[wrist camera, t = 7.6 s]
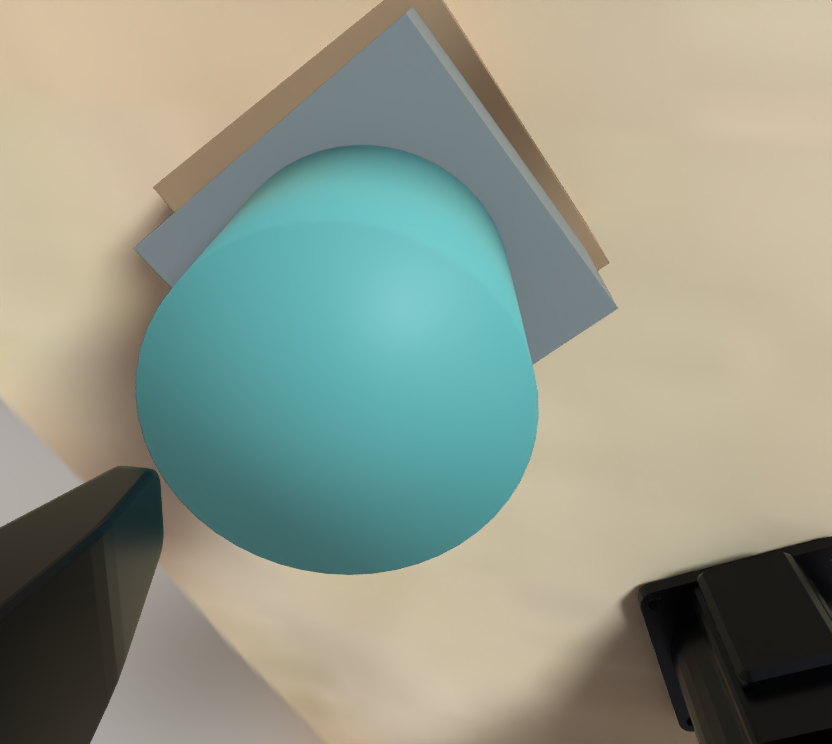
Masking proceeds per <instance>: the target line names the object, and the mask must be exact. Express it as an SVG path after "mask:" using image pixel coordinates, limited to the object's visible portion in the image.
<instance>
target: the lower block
mask: <svg viewBox="0 0 832 744" xmlns="http://www.w3.org/2000/svg"><path fill="white" fill-rule="evenodd" d="M411 7H414V9H415V10H416V11H417V13H418V14H419V16H420V17H421V18H422V20H423V21H424V23H425V24H426V26H427V27H428V28H429V30H430V31H431V33H432V34H433V35H434V37H435V38H436V40H437V41H438V42H439V44H440V45H441V47H442V48H443V49H444V51H445V52H446V54H447V55H448V56H449V58H450V59H451V61H452V62H453V63H454V65H455V66H456V68H457V69H458V70H459V72H460V73H461V75H462V76H463V77H464V79H465V80H466V82H467V83H468V84H469V86H470V87H471V89H472V90H473V91H474V93H475V94H476V96H477V97H478V98H479V100H480V101H481V103H482V104H483V105H484V107H485V108H486V110H487V111H488V112H489V114H490V115H491V117H492V118H493V120H494V121H495V122H496V124H497V125H498V127H499V128H500V129H501V131H502V132H503V134H504V135H505V136H506V138H507V139H508V141H509V142H510V143H511V145H512V146H513V148H514V149H515V150H516V152H517V153H518V155H519V156H520V157H521V159H522V160H523V162H524V163H525V164H526V166H527V167H528V169H529V170H530V171H531V173H532V174H533V176H534V177H535V178H536V180H537V181H538V183H539V184H540V185H541V187H542V188H543V190H544V191H545V192H546V194H547V195H548V197H549V198H550V199H551V201H552V202H553V204H554V205H555V206H556V208H557V209H558V211H559V212H560V214H561V215H562V216H563V218H564V219H565V221H566V222H567V223H568V225H569V226H570V228H571V229H572V230H573V232H574V233H575V235H576V236H577V237H578V239H579V240H580V242H581V243H582V244H583V246H584V247H585V249H586V251H587V252H588V254H589V256H590V258H591V260H592V262H593V264H594V265H595V267H596V269H597V271H598V270H599V269H601V268H602V267H604V266H606V265H607V264H609V261H608V259H607V258H606V256H605V254H604V253H603V251H602V249H601V247H600V246H599V244H598V242H597V241H596V239H595V237H594V236H593V234H592V232H591V231H590V229H589V227H588V226H587V224H586V222H585V221H584V219H583V218H582V216H581V214H580V213H579V211H578V210H577V208H576V207H575V205H574V204H573V202H572V200H571V199H570V197H569V196H568V194H567V193H566V191H565V190H564V188H563V186H562V185H561V183H560V182H559V180H558V179H557V177H556V175H555V174H554V172H553V171H552V169H551V168H550V166H549V165H548V163H547V161H546V160H545V158H544V157H543V155H542V154H541V152H540V150H539V149H538V147H537V146H536V144H535V143H534V141H533V140H532V138H531V136H530V135H529V133H528V132H527V130H526V129H525V127H524V125H523V124H522V122H521V121H520V119H519V118H518V116H517V115H516V113H515V111H514V110H513V108H512V107H511V105H510V104H509V102H508V100H507V99H506V97H505V96H504V94H503V93H502V91H501V90H500V88H499V86H498V85H497V83H496V82H495V80H494V79H493V77H492V76H491V74H490V72H489V71H488V69H487V68H486V66H485V65H484V63H483V61H482V60H481V58H480V57H479V55H478V54H477V52H476V51H475V49H474V47H473V46H472V44H471V43H470V41H469V40H468V38H467V36H466V35H465V33H464V32H463V30H462V29H461V27H460V26H459V24H458V22H457V21H456V19H455V18H454V16H453V15H452V13H451V11H450V10H449V8H448V7H447V5H446V4H445V2H444V1H443V0H384V1H382V2H381V3H380V4H379V5H377V6H376V7H375V8H374V9H372V10H371V11H370V12H369V13H367V14H366V15H365V16H364V17H363V18H361V19H360V20H359V21H358V22H356V23H355V24H354V25H353V26H351V27H350V28H349V29H348V30H346V31H345V32H344V33H343V34H342V35H340V36H339V37H338V38H337V39H335V40H334V41H333V42H332V43H330V44H329V45H328V46H327V47H325V48H324V49H323V50H322V51H321V52H319V53H318V54H317V55H316V56H314V57H313V58H312V59H311V60H309V61H308V62H307V63H306V64H304V65H303V66H302V67H301V68H300V69H298V70H297V71H296V72H295V73H293V74H292V75H291V76H290V77H288V78H287V79H286V80H285V81H283V82H282V83H281V84H280V85H279V86H277V87H276V88H275V89H274V90H272V91H271V92H270V93H269V94H267V95H266V96H265V97H264V98H262V99H261V100H260V101H259V102H258V103H256V104H255V105H254V106H253V107H251V108H250V109H249V110H248V111H246V112H245V113H244V114H243V115H241V116H240V117H239V118H238V119H237V120H235V121H234V122H233V123H232V124H230V125H229V126H228V127H227V128H225V129H224V130H223V131H222V132H220V133H219V134H218V135H217V136H216V137H214V138H213V139H212V140H211V141H209V142H208V143H207V144H206V145H204V146H203V147H202V148H201V149H199V150H198V151H197V152H196V153H195V154H193V155H192V156H191V157H190V158H188V159H187V160H186V161H185V162H183V163H182V164H181V165H180V166H179V167H177V168H176V169H175V170H174V171H172V172H171V173H170V174H169V175H167V176H166V177H165V178H164V179H162V180H161V181H160V182H159V183H158V184H156V185H155V186H154V187H153V188H154V189H155V190H156V191H157V193H158V194H159V195H160V196H161V197H162V198H163V200H164V201H165V202H166V203H167V204H168V205H169V207H170V208H171V209H172V210H173V211H174V212H176V211H177V210H178V209H179V208H180V207H181V206H182V205H184V204H185V203H186V202H187V201H188V200H189V199H190V198H192V197H193V196H194V195H195V194H196V193H197V192H199V191H200V190H201V189H202V188H203V187H204V186H205V185H207V184H208V183H209V182H210V181H211V180H212V179H214V178H215V177H216V176H217V175H218V174H219V173H221V172H222V171H223V170H224V169H225V168H226V167H227V166H229V165H230V164H231V163H232V162H233V161H234V160H236V159H237V158H238V157H239V156H240V155H241V154H243V153H244V152H245V151H246V150H247V149H248V148H249V147H251V146H252V145H253V144H254V143H255V142H256V141H258V140H259V139H260V138H261V137H262V136H263V135H265V134H266V133H267V132H268V131H269V130H270V129H271V128H273V127H274V126H275V125H276V124H277V123H278V122H280V121H281V120H282V119H283V118H284V117H285V116H286V115H288V114H289V113H290V112H291V111H292V110H293V109H295V108H296V107H297V106H298V105H299V104H300V103H302V102H303V101H304V100H305V99H306V98H307V97H308V96H310V95H311V94H312V93H313V92H314V91H315V90H317V89H318V88H319V87H320V86H321V85H322V84H324V83H325V82H326V81H327V80H328V79H329V78H330V77H332V76H333V75H334V74H335V73H336V72H337V71H339V70H340V69H341V68H342V67H343V66H344V65H345V64H347V63H348V62H349V61H350V60H351V59H352V58H354V57H355V56H356V55H357V54H358V53H359V52H361V51H362V50H363V49H364V48H365V47H366V46H367V45H369V44H370V43H371V42H372V41H373V40H374V39H376V38H377V37H378V36H379V35H380V34H381V33H383V32H384V31H385V30H386V29H387V28H388V27H389V26H391V25H392V24H393V23H394V22H395V21H396V20H398V19H399V18H400V17H401V16H402V15H403V14H405V13H406V12H407V11H408V10H409V9H410V8H411Z"/></svg>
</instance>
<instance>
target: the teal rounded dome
mask: <svg viewBox="0 0 832 744" xmlns="http://www.w3.org/2000/svg"><path fill="white" fill-rule="evenodd" d="M136 402H137V410H138V417H139V422H140V425H141V429H142V433H143V436H144V440H145V443H146V445H147V447H148V449H149V452H150V454H151V456H152V459H153V461H154V463H155V465H156V466H157V468H158V470H159V471H160V473H161V475H162V476H163V478H164V480H165V481H166V483H167V484H168V486H169V487H170V488H171V489H172V491H173V492H174V493H175V494H176V496H177V497H178V498H179V500H180V501H181V502H182V503H183V504H184V505H185V506H186V507H187V508H188V509H189V510H190V511H191V512H192V513H193V514H194V515H195V516H196V517H197V518H198V519H199V520H201V521H202V522H203V523H205V524H206V525H207V526H208V527H210V528H211V529H212V530H213V531H215V532H216V533H217V534H219V535H221V536H222V537H224V538H225V539H227V540H228V541H230V542H232V543H233V544H235V545H236V546H238V547H240V548H243V549H245V550H247V551H249V552H251V553H253V554H255V555H257V556H259V557H262V558H265V559H267V560H270V561H273V562H275V563H278V564H281V565H285V566H289V567H293V568H297V569H301V570H306V571H313V572H319V573H326V574H345V575H353V574H372V573H379V572H385V571H392V570H397V569H401V568H404V567H408V566H412V565H415V564H419V563H421V562H424V561H426V560H429V559H431V558H434V557H437V556H439V555H441V554H443V553H445V552H447V551H448V550H450V549H452V548H454V547H456V546H458V545H460V544H461V543H462V542H464V541H465V540H467V539H468V538H470V537H471V536H472V535H474V534H475V533H477V532H478V531H479V530H480V529H481V528H482V527H483V526H485V525H486V524H487V523H488V522H489V521H490V520H491V519H492V518H493V517H494V516H495V515H496V514H497V513H498V512H499V510H500V509H501V508H502V507H503V506H504V505H505V503H506V502H507V501H508V500H509V498H510V497H511V495H512V493H513V492H514V490H515V489H516V487H517V486H518V484H519V482H520V481H521V478H522V476H523V474H524V472H525V470H526V467H527V465H528V463H529V461H530V457H531V453H532V450H533V446H534V443H535V439H536V432H537V424H538V391H537V386H536V380H535V374H534V369H533V365H532V360H531V356H530V352H529V348H528V344H527V339H526V335H525V331H524V327H523V323H522V318H521V314H520V310H519V306H518V301H517V297H516V293H515V289H514V285H513V280H512V276H511V272H510V268H509V264H508V259H507V255H506V251H505V248H504V245H503V242H502V239H501V236H500V234H499V232H498V230H497V228H496V226H495V224H494V222H493V220H492V218H491V216H490V215H489V213H488V212H487V210H486V209H485V207H484V206H483V204H482V203H481V202H480V201H479V199H478V198H477V197H476V196H475V195H474V194H473V193H472V192H471V191H470V189H469V188H468V187H467V186H465V185H464V184H463V183H462V182H461V181H460V180H458V179H457V178H456V177H455V176H454V175H452V174H451V173H449V172H448V171H446V170H445V169H443V168H442V167H440V166H438V165H437V164H435V163H433V162H431V161H429V160H427V159H424V158H422V157H420V156H418V155H415V154H412V153H409V152H406V151H403V150H400V149H394V148H389V147H383V146H375V145H350V146H339V147H335V148H330V149H326V150H321V151H318V152H315V153H313V154H310V155H307V156H305V157H302V158H300V159H298V160H296V161H294V162H293V163H291V164H289V165H287V166H285V167H284V168H282V169H281V170H280V171H278V172H277V173H276V174H274V175H273V176H272V177H270V178H269V179H268V180H267V181H266V182H265V183H264V184H263V185H262V186H261V187H260V188H259V189H258V190H257V191H256V192H255V193H254V194H253V195H252V196H251V198H250V199H249V200H248V201H247V202H246V203H245V205H244V206H243V207H242V208H241V209H240V210H239V211H238V213H237V214H236V215H235V216H234V217H233V218H232V219H231V221H230V222H229V223H228V224H227V225H226V226H225V228H224V229H223V230H222V231H221V232H220V233H219V234H218V236H217V237H216V238H215V239H214V240H213V241H212V242H211V244H210V245H209V246H208V247H207V248H206V249H205V251H204V252H203V253H202V254H201V255H200V256H199V257H198V259H197V260H196V261H195V262H194V263H193V264H192V265H191V267H190V268H189V269H188V270H187V271H186V272H185V274H184V275H183V276H182V277H181V278H180V279H179V280H178V282H177V283H176V284H175V285H174V286H173V288H172V289H171V290H170V292H169V293H168V294H167V296H166V297H165V298H164V300H163V301H162V303H161V304H160V305H159V307H158V309H157V311H156V313H155V314H154V316H153V318H152V320H151V322H150V324H149V326H148V328H147V331H146V334H145V337H144V340H143V343H142V346H141V349H140V353H139V359H138V365H137V371H136Z"/></svg>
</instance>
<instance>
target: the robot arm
mask: <svg viewBox="0 0 832 744" xmlns="http://www.w3.org/2000/svg"><path fill="white" fill-rule="evenodd" d="M162 544H163V516H162V501H161V485H160V479H159V476H158V474H157V472H156V471H155V470H153V469H148V468H138V467H127V466H117V467H115V468H113V469H111V470H109V471H107V472H105V473H103V474H101V475H99V476H97V477H95V478H93V479H92V480H90V481H88V482H86V483H84V484H82V485H80V486H78V487H76V488H74V489H73V490H71V491H69V492H67V493H65V494H63V495H61V496H59V497H57V498H55V499H54V500H52V501H50V502H48V503H46V504H44V505H42V506H40V507H38V508H37V509H34V510H33V511H31V512H29V513H27V514H25V515H23V516H21V517H19V518H17V519H15V520H14V521H12V522H10V523H8V524H6V525H4V526H2V527H0V744H90V742H91V740H92V738H93V736H94V734H95V732H96V729H97V727H98V725H99V723H100V721H101V719H102V716H103V714H104V712H105V710H106V708H107V706H108V704H109V701H110V699H111V696H112V694H113V692H114V690H115V687H116V685H117V683H118V680H119V677H120V674H121V671H122V669H123V666H124V663H125V660H126V657H127V654H128V651H129V648H130V645H131V642H132V639H133V636H134V633H135V630H136V627H137V624H138V621H139V618H140V615H141V612H142V609H143V606H144V603H145V600H146V597H147V594H148V591H149V588H150V585H151V582H152V579H153V576H154V573H155V569H156V566H157V563H158V560H159V557H160V554H161V550H162ZM831 555H832V536H831V537H827V538H823V539H819V540H815V541H812V542H808V543H804V544H800V545H796V546H792V547H788V548H785V549H781V550H777V551H773V552H769V553H765V554H761V555H758V556H754V557H750V558H746V559H742V560H738V561H734V562H731V563H727V564H723V565H719V566H715V567H711V568H707V569H704V570H700V571H696V572H692V573H688V574H684V575H680V576H677V577H673V578H669V579H665V580H661V581H657V582H653V583H650V584H647V585H645V586H643V587H642V588H641V589H640V590H639V592H638V601H639V604H640V607H641V610H642V613H643V616H644V619H645V622H646V625H647V628H648V632H649V635H650V638H651V641H652V644H653V647H654V650H655V653H656V656H657V659H658V662H659V665H660V668H661V671H662V674H663V677H664V680H665V683H666V686H667V689H668V692H669V695H670V698H671V701H672V704H673V707H674V710H675V713H676V716H677V719H678V722H679V725H680V726H681V728H682V729H684V730H686V731H695V733H696V736H697V739H698V742H699V744H832V556H831ZM653 598H660V599H659V600H656V601H650V600H651V599H653Z"/></svg>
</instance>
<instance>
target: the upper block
mask: <svg viewBox="0 0 832 744" xmlns="http://www.w3.org/2000/svg"><path fill="white" fill-rule="evenodd" d="M350 145H375V146H383V147H389V148H394V149H400V150H403V151H406V152H409V153H412V154H415V155H418V156H420V157H422V158H424V159H427V160H429V161H431V162H433V163H435V164H437V165H438V166H440V167H442V168H443V169H445V170H446V171H448V172H449V173H451V174H452V175H454V176H455V177H456V178H457V179H458V180H460V181H461V182H462V183H463V184H464V185H465V186H467V187H468V188H469V189H470V191H471V192H472V193H473V194H474V195H475V196H476V197H477V198H478V199H479V201H480V202H481V203H482V204H483V206H484V207H485V209H486V210H487V212H488V213H489V215H490V216H491V218H492V220H493V222H494V224H495V226H496V228H497V230H498V232H499V234H500V236H501V239H502V242H503V245H504V248H505V251H506V255H507V259H508V264H509V268H510V272H511V276H512V280H513V285H514V289H515V293H516V297H517V301H518V306H519V310H520V314H521V318H522V323H523V327H524V331H525V335H526V339H527V344H528V348H529V352H530V356H531V360H532V365H533V364H534V363H536V362H537V361H539V360H540V359H542V358H543V357H545V356H546V355H548V354H549V353H551V352H552V351H554V350H555V349H557V348H558V347H560V346H561V345H563V344H564V343H566V342H567V341H569V340H571V339H572V338H574V337H575V336H577V335H578V334H580V333H581V332H583V331H584V330H586V329H587V328H589V327H590V326H592V325H593V324H595V323H596V322H598V321H599V320H601V319H602V318H604V317H605V316H607V315H609V314H610V313H612V312H613V311H615V310H616V309H618V308H617V306H616V304H615V302H614V300H613V298H612V297H611V295H610V293H609V291H608V289H607V287H606V286H605V284H604V282H603V280H602V278H601V276H600V275H599V273H598V271H597V269H596V267H595V265H594V264H593V262H592V260H591V258H590V256H589V254H588V252H587V251H586V249H585V247H584V246H583V244H582V243H581V242H580V240H579V239H578V237H577V236H576V235H575V233H574V232H573V230H572V229H571V228H570V226H569V225H568V223H567V222H566V221H565V219H564V218H563V216H562V215H561V214H560V212H559V211H558V209H557V208H556V206H555V205H554V204H553V202H552V201H551V199H550V198H549V197H548V195H547V194H546V192H545V191H544V190H543V188H542V187H541V185H540V184H539V183H538V181H537V180H536V178H535V177H534V176H533V174H532V173H531V171H530V170H529V169H528V167H527V166H526V164H525V163H524V162H523V160H522V159H521V157H520V156H519V155H518V153H517V152H516V150H515V149H514V148H513V146H512V145H511V143H510V142H509V141H508V139H507V138H506V136H505V135H504V134H503V132H502V131H501V129H500V128H499V127H498V125H497V124H496V122H495V121H494V120H493V118H492V117H491V115H490V114H489V112H488V111H487V110H486V108H485V107H484V105H483V104H482V103H481V101H480V100H479V98H478V97H477V96H476V94H475V93H474V91H473V90H472V89H471V87H470V86H469V84H468V83H467V82H466V80H465V79H464V77H463V76H462V75H461V73H460V72H459V70H458V69H457V68H456V66H455V65H454V63H453V62H452V61H451V59H450V58H449V56H448V55H447V54H446V52H445V51H444V49H443V48H442V47H441V45H440V44H439V42H438V41H437V40H436V38H435V37H434V35H433V34H432V33H431V31H430V30H429V28H428V27H427V26H426V24H425V23H424V21H423V20H422V18H421V17H420V16H419V14H418V13H417V11H416V10H415V9H414V7H411V8H410V9H409V10H408V11H407V12H406V13H405V14H403V15H402V16H401V17H400V18H399V19H398V20H396V21H395V22H394V23H393V24H392V25H391V26H389V27H388V28H387V29H386V30H385V31H384V32H383V33H381V34H380V35H379V36H378V37H377V38H376V39H374V40H373V41H372V42H371V43H370V44H369V45H367V46H366V47H365V48H364V49H363V50H362V51H361V52H359V53H358V54H357V55H356V56H355V57H354V58H352V59H351V60H350V61H349V62H348V63H347V64H345V65H344V66H343V67H342V68H341V69H340V70H339V71H337V72H336V73H335V74H334V75H333V76H332V77H330V78H329V79H328V80H327V81H326V82H325V83H324V84H322V85H321V86H320V87H319V88H318V89H317V90H315V91H314V92H313V93H312V94H311V95H310V96H308V97H307V98H306V99H305V100H304V101H303V102H302V103H300V104H299V105H298V106H297V107H296V108H295V109H293V110H292V111H291V112H290V113H289V114H288V115H286V116H285V117H284V118H283V119H282V120H281V121H280V122H278V123H277V124H276V125H275V126H274V127H273V128H271V129H270V130H269V131H268V132H267V133H266V134H265V135H263V136H262V137H261V138H260V139H259V140H258V141H256V142H255V143H254V144H253V145H252V146H251V147H249V148H248V149H247V150H246V151H245V152H244V153H243V154H241V155H240V156H239V157H238V158H237V159H236V160H234V161H233V162H232V163H231V164H230V165H229V166H227V167H226V168H225V169H224V170H223V171H222V172H221V173H219V174H218V175H217V176H216V177H215V178H214V179H212V180H211V181H210V182H209V183H208V184H207V185H205V186H204V187H203V188H202V189H201V190H200V191H199V192H197V193H196V194H195V195H194V196H193V197H192V198H190V199H189V200H188V201H187V202H186V203H185V204H184V205H182V206H181V207H180V208H179V209H178V210H177V211H176V212H174V213H173V214H172V215H171V216H170V217H169V218H168V219H166V220H165V221H164V222H163V223H162V224H161V225H160V226H158V227H157V228H156V229H155V230H154V231H153V232H152V233H150V234H149V235H148V236H147V237H146V238H145V239H144V240H143V241H141V242H140V243H139V244H138V245H137V246H136V247H135V248H134V249H135V250H136V252H137V253H138V254H139V255H140V256H141V257H142V258H143V259H144V260H145V261H146V262H147V263H148V264H149V265H150V266H151V267H152V268H153V269H154V270H155V271H156V272H157V273H158V274H159V275H160V276H161V278H162V279H163V280H164V281H165V282H166V283H167V284H168V285H169V286H170V287H171V288H173V286H174V285H175V284H176V283H177V282H178V280H179V279H180V278H181V277H182V276H183V275H184V274H185V272H186V271H187V270H188V269H189V268H190V267H191V265H192V264H193V263H194V262H195V261H196V260H197V259H198V257H199V256H200V255H201V254H202V253H203V252H204V251H205V249H206V248H207V247H208V246H209V245H210V244H211V242H212V241H213V240H214V239H215V238H216V237H217V236H218V234H219V233H220V232H221V231H222V230H223V229H224V228H225V226H226V225H227V224H228V223H229V222H230V221H231V219H232V218H233V217H234V216H235V215H236V214H237V213H238V211H239V210H240V209H241V208H242V207H243V206H244V205H245V203H246V202H247V201H248V200H249V199H250V198H251V196H252V195H253V194H254V193H255V192H256V191H257V190H258V189H259V188H260V187H261V186H262V185H263V184H264V183H265V182H266V181H267V180H268V179H269V178H270V177H272V176H273V175H274V174H276V173H277V172H278V171H280V170H281V169H282V168H284V167H285V166H287V165H289V164H291V163H293V162H294V161H296V160H298V159H300V158H302V157H305V156H307V155H310V154H313V153H315V152H318V151H321V150H326V149H330V148H335V147H339V146H350Z"/></svg>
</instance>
